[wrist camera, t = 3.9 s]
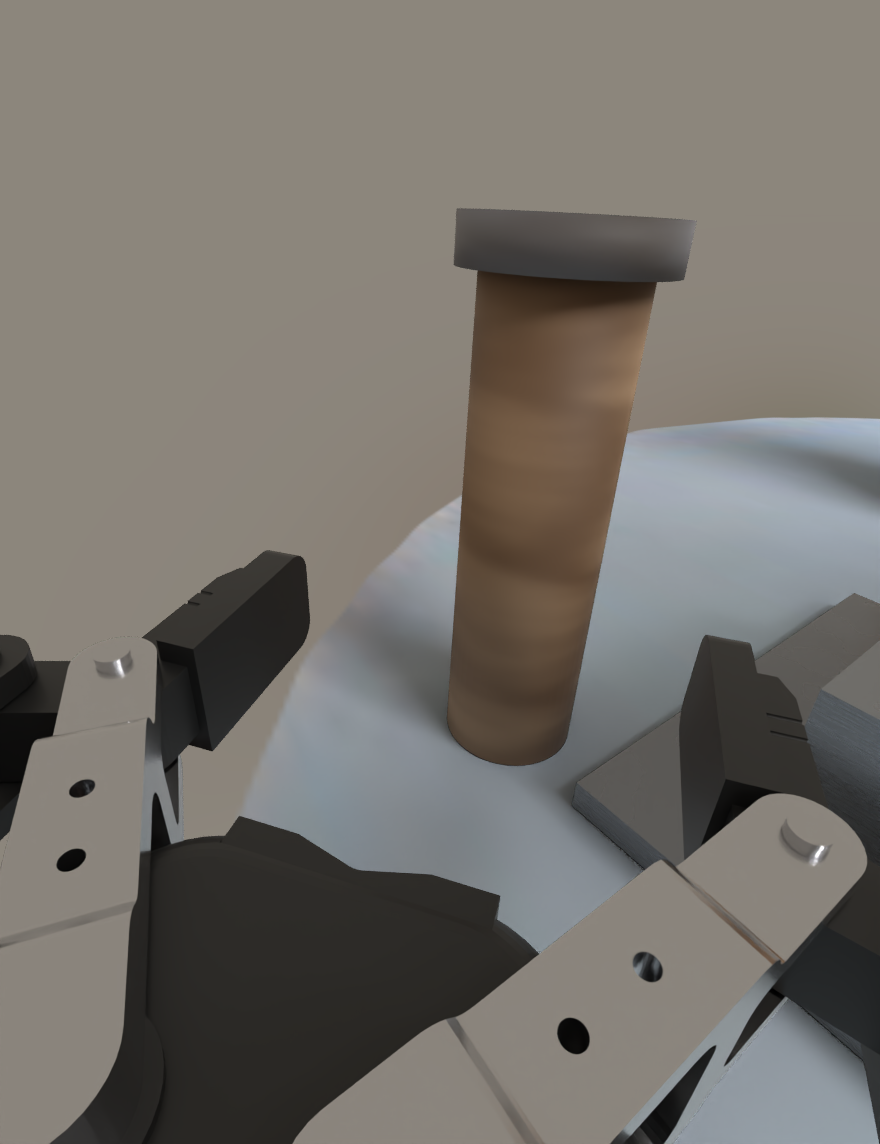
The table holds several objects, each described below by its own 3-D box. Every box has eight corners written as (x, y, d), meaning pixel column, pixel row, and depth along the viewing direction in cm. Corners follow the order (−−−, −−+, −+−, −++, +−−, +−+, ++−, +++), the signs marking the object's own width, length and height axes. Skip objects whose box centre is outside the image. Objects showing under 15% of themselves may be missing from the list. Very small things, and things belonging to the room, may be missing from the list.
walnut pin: (509, 654, 26) (565, 216, 18) (617, 733, 23) (744, 223, 15) (400, 706, 23) (410, 206, 15) (503, 807, 19) (586, 212, 12)
